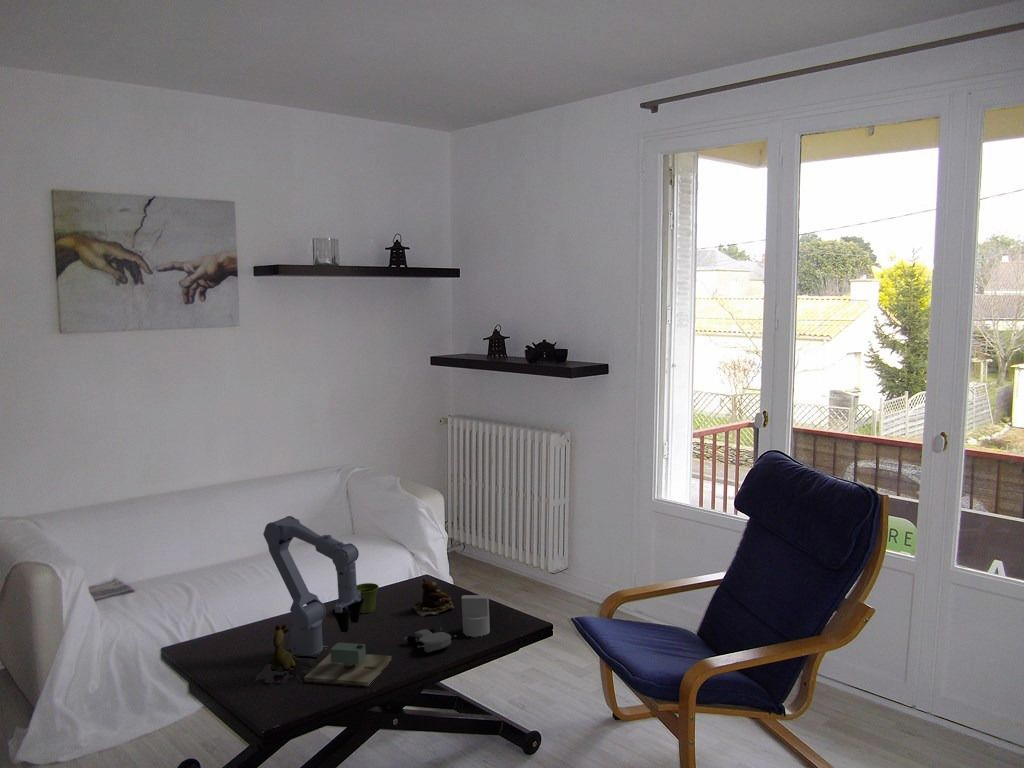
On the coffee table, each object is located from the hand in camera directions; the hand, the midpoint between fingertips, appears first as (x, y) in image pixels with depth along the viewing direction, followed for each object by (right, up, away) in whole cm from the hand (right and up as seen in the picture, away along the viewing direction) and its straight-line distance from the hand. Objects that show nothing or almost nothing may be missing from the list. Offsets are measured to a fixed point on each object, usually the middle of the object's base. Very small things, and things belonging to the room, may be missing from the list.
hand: (349, 627), depth 252 cm
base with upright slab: (+39, -8, +20) cm, 44 cm away
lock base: (+1, -11, -7) cm, 13 cm away
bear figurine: (+22, -6, +42) cm, 48 cm away
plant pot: (-2, -7, +43) cm, 43 cm away
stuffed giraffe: (-18, -12, -6) cm, 22 cm away
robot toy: (+24, -9, +9) cm, 27 cm away
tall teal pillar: (+1, -7, -8) cm, 11 cm away
